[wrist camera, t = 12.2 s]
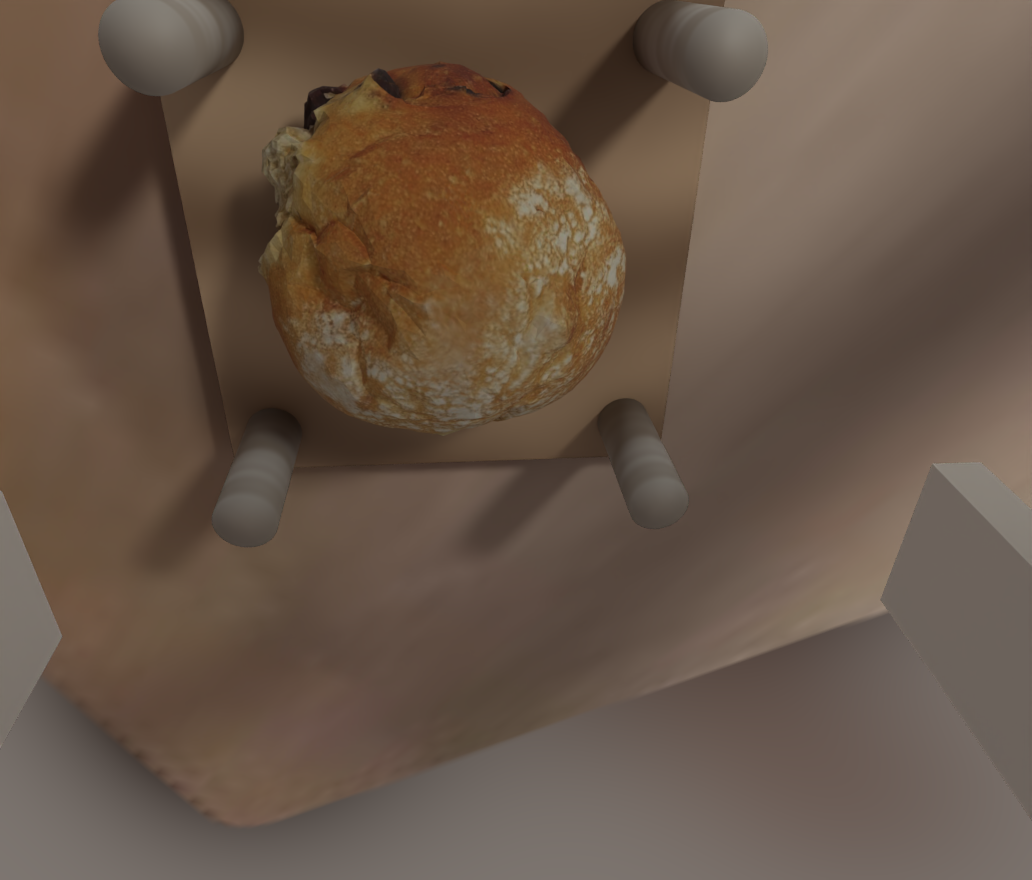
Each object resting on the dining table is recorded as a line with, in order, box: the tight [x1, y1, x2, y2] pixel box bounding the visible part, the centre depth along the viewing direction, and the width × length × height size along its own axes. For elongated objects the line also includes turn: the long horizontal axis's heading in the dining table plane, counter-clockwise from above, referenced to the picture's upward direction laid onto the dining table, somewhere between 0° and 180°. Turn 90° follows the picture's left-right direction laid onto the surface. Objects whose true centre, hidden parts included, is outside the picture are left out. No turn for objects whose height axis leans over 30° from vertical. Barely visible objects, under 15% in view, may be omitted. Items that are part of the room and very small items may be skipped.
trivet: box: [98, 0, 768, 547], centre depth 22 cm, size 15×15×6 cm
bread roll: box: [258, 61, 626, 436], centre depth 21 cm, size 10×10×8 cm
